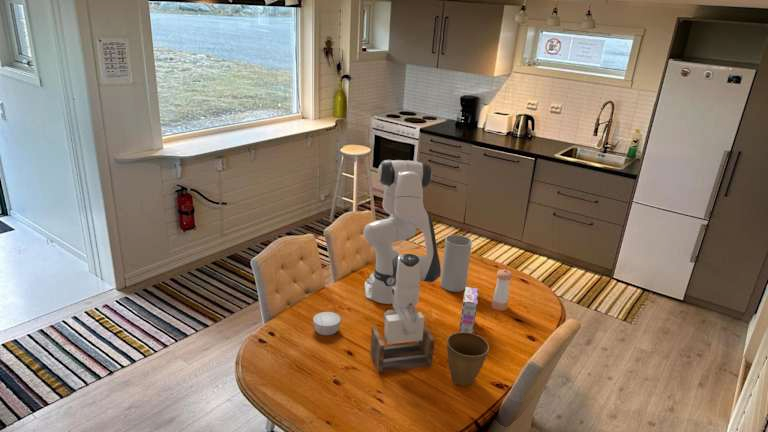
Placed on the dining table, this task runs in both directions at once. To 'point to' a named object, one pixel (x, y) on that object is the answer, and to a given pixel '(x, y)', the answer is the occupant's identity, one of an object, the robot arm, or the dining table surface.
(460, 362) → the plant pot
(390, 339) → the door panel
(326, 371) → the dining table surface
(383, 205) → the robot arm
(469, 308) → the candy box
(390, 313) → the lightbulb
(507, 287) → the salt shaker
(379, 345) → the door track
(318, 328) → the ramekin
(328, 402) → the dining table surface
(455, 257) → the cylinder vase
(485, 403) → the dining table surface
